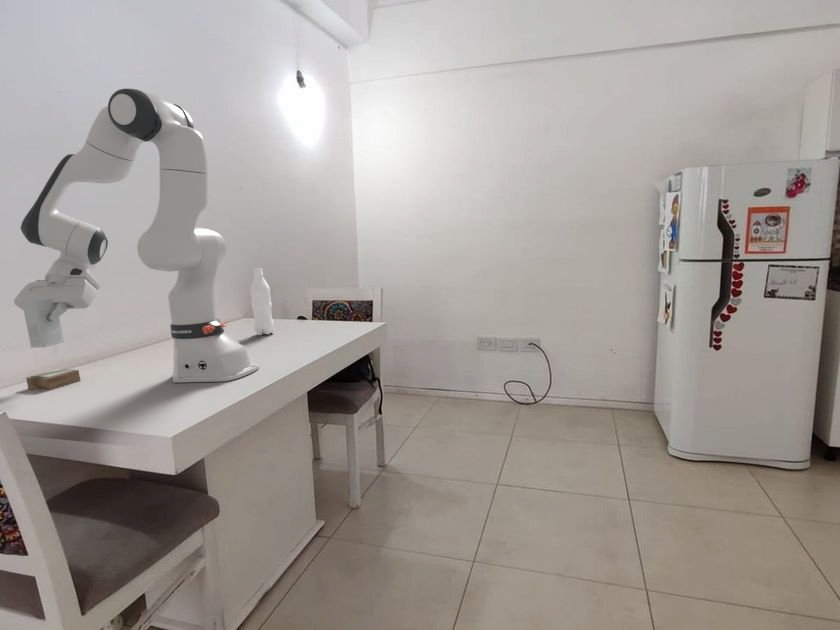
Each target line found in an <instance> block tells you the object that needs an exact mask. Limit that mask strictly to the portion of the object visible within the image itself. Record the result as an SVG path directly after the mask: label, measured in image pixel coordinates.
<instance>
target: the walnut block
mask: <svg viewBox="0 0 840 630" xmlns="http://www.w3.org/2000/svg"><path fill="white" fill-rule="evenodd" d="M25 379H26V384H27V388H28V390H39V389H44V391H52V390H55V389H54V388H56V389H58V388H57V387H59V388H61V387H60V386H62V387H65V386H67V384H69V385H71V383H72V384H75V383H78V382H81V375H80V371H79V369H71V368H70V369H69V368H68V369H67V368H66V369H64V368H63V369H62V368H55V369H51V370H48V371H43V372H40V373H36V374H33V375H30V376H28V377H26V378H25ZM74 382H75V383H74ZM64 385H65V386H64ZM51 389H52V390H51Z"/></svg>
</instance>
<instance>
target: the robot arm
mask: <svg viewBox="0 0 840 630" xmlns="http://www.w3.org/2000/svg"><path fill="white" fill-rule="evenodd" d="M93 121H94V122H93V123H92V125H91V127H90V129H89V132H88V134H87V137H86V141H85V143H84V144H83V147H82V148H81V149H80V150H78V151H77V152H76V153H71V154H70V153H68V154H67V155H65V156H64V157H63V158H62V159H61V160H60V161H59V163H58V164H57V166H56V167H55V169H54V171H52V173H51V174H50V176H49V178H48V179H47V181H46V183H45V185H44V187H43V188H42V190H41V191H40V194H39V195H38V197H37V199H36V200H35V202H34V204H33V205H32V207H31V208H30V209H29V211H27V213H26V215H24V217H23V219H22V221H21V225H20V231H21V233H22V235H23V237H25V239H26V240H27V241H28V242H29V243H31V244H34V245H38V246H42V247H47V248H50V249H52V250H55V251H58V252H60V255H59V257H58V258H57V259H56V260H55V261H54V262H53V263H52V265H51V266H50V267H49V269H48V271H47V272H46V274H45V276H44V279H37V280H35V281H32V282H31V281H30V282H29V283H27V284H26V285H25V286H24V287H23V288H22V289H21V290H20V291H19V293H18V294H17V295H16V296H15V298H14V300H13V302H14V305H15V306H16V307H18V308H19V309H20V310H22V311H24V309H23V304H22V302H25V301H32V300H38V299H53V300H52V302H53V303H57V305H56V307H57V308H56V309H55V310H54V311H53V312H52V313H48V316H46V319H47V320H48V321H50V322H53V321H56V320H57V318H58V317H59V318H60V317H61V316H62V315H63V314H64V313H66V312H67V310H70V309H71V310H75V309H76V310H77V309H86V308H88V307H90V306H91V304H92V303H93V301H94V299H95V297H96V295H97V293H98V290H99V289H100V288H101V286H102V284H101V283H100V281H99V280H97V279H96V277H95V276H94V275H92V274H91V272H92V271H93V270H94V269H95V268H96V266H97V264H98V263H99V262H101V260H102V259H103V257H104V255H105V253H106V251H107V249H108V246H109V245H108V244H109V243H108V238H107V236H106V233H105V232H104V230H103V229H102V228H100V227H98V226H96V225H94V224H91V223H90V222H89V223H88V222H86V221H84V220H80V219H77V218H75V217H72V216H69V215H67V214H63V213H62V212H60V211H59V210H58V206H59V204H60V203H61V200H62V199H63V197H64V195H65V194H66V192H67V190H68V189H69V187H70V186H71V185H72V184H74V183H90V184H91V183H94V184H115V183H118V182H121V181H123V180H124V179H126V178H127V177H128V176H129V173H130V172H131V170H132V168H133V166H134V163H135V159H136V157H137V154H138V151H139V148H140V147H141V145H142V144H143V143H144V142H145V143H147V142H150V143H153V145H155V146H156V149H157V151H158V155H159V198H158V205H157V209H156V213H155V216H154V218H153V221H152V223H151V224H150V226H149V227H148V228H147V230H146V231H144V232H143V233H142V234H141V236H140V237H139V239H138V241H137V245H136V246H137V255H138V257H139V259H140V261H141V262H142V264H143V265H145V266H146V267H147V268H149V269H150V270H155V271H161V272H177V271H178V272H177V273H178V274H177V279H176V281H175V284H174V286H172V288H171V290H170V291H169V293H168V297H167V298H168V299H167V300H168V305H169V313H170V321H171V324H170V334H171V338H172V339H173V370H172V376H171V377H172V383H210V382H212V383H215V382H229V381H232V380H233V381H234V380H237V379H240V378H242V377H245V376H247V375H250V374H252V373H255V372H256V371H257V370H259V368H260V366H259V363H254V362H250V358H249V354H248V351H247V348H246V347H245V346H244V345H242V344H240V343H239V342H238V341H237V340H235V339H233V338H232V337H231V336H230V335H228V334H227V333H225V329H224V328H225V327H227V325H226V324H227V322H222V323H221V321H220V320H219V318H218V317H217V315H218V314H217V309H216V298H215V285H216V277H217V273H218V269H219V266H220V264H221V262H222V261H223V259H224V258H225V256H226V253H227V246H226V245H227V244H226V241H225V239H224V238H223V236H222V235H221V234H220V233H219V232H217V231H214V230H211V229H208V228H205V227H196V225H197V221H198V220H199V217H200V215H201V214H202V212H203V211H205V209H206V208H207V206H208V204H209V186H208V185H209V181H208V179H209V177H208V176H209V171H208V170H209V169H208V158H207V150H206V149H207V148H206V145H205V140H204V137H203V136H202V134H201V133H200V132H199V131H197V130H196V129H195V128H194V127H195V126H194V121H193V119H192V117H191V115H190V114H189V112H188V111H186V110H185V109H184V108H183V107H181V106H180V105H178V104H177V103H176V104H175V103H172V102H170V101H168V100H166V99H164V98H162V97H160V96H158V95H155V94H152V93H148V92H143V91H142V90H140V89H137V88H136V89H135V88H121V89H120V88H119V89H118V90H116V91H114V92H113V93H112V94H111V96H110V97H109V100H108V103H107V106H104V107H102V108H101V110H100V111H99V113H98V114H97V116H96V118H95V119H94V120H93Z"/></svg>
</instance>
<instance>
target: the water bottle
mask: <svg viewBox="0 0 840 630" xmlns="http://www.w3.org/2000/svg"><path fill="white" fill-rule="evenodd" d="M252 271H253V280H252V283H251V286H250V289H249V292H250V299H251V309H252V312H253V317H254V319H253V320H254V323H253V328H254V332H255V333H256V335H258V336H259V335H261V336H263V334H269V335H271V334H270V333H272V332H273V333H274V329H275V323H274V320H273V315H272V306H273V304H272V297H271V296H272V295H271V288H270V285H269V284H268V282H267V281H266V279H265V278H264V272H263V268H262V267H257V268H256V267H254V268H253V270H252ZM273 333H272V334H273Z"/></svg>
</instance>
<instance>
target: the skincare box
mask: <svg viewBox="0 0 840 630" xmlns="http://www.w3.org/2000/svg"><path fill="white" fill-rule="evenodd" d="M52 300H53V299H38V300H32V301H25V302H22V304H23V309H24V310H23V315H24V319H25V323H26V328H27V335H28V339H29V344H30V348H34V349H35V348H47V347H51V346H55V345H57V344H62V343H65V340H64V335H63V329H62V324H61V320H60V319H61V317H60V316H59V317H58V318H57V320H56V321H53V322H50V321H48V320H47V319H46V316H48V313H52V312H53V311H54V310H55V309H56V308H57V307H56V305H57V303H53V302H52Z"/></svg>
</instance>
